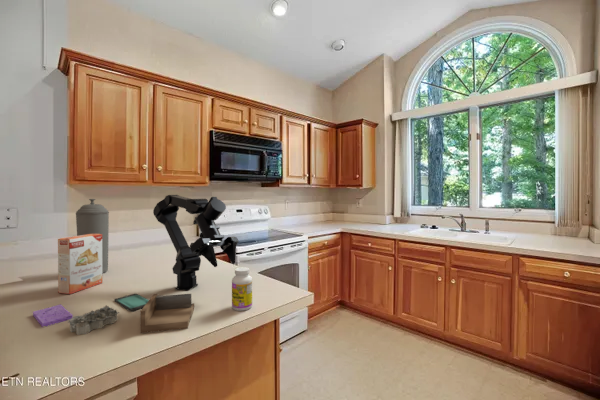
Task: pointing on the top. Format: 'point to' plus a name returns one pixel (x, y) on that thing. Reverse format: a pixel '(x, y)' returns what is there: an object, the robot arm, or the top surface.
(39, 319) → the sponges
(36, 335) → the top surface
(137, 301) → the smartphone
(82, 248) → the cracker box
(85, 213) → the canister
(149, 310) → the brown piece
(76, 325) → the egg carton
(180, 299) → the gray flat bar
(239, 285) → the supplement bottle
